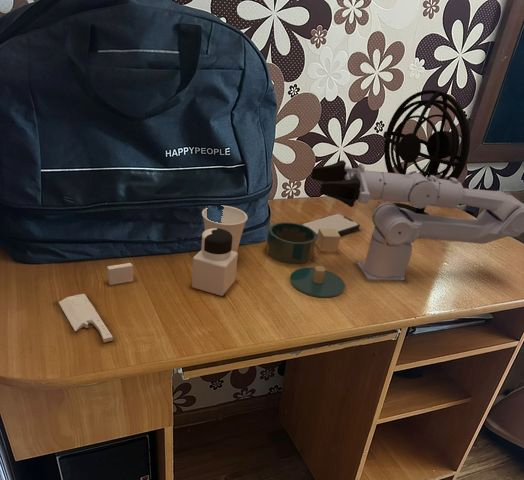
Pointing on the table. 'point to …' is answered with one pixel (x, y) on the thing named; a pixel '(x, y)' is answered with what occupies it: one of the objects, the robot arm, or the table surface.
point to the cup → (228, 223)
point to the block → (328, 239)
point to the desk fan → (438, 142)
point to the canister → (291, 243)
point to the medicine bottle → (215, 262)
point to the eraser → (120, 273)
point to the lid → (317, 282)
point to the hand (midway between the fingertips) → (316, 180)
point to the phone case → (333, 224)
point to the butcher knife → (84, 315)
